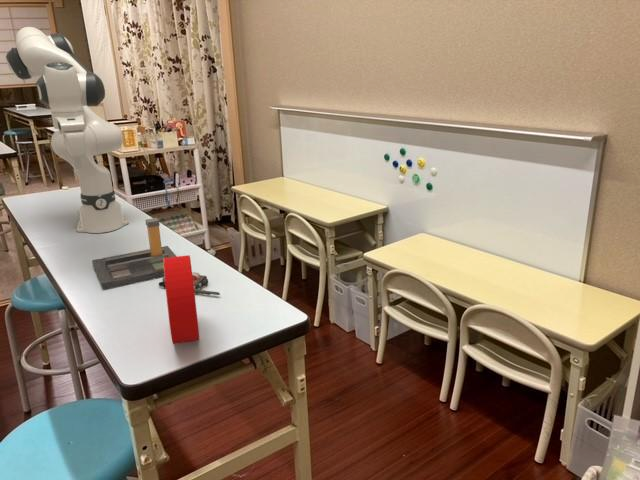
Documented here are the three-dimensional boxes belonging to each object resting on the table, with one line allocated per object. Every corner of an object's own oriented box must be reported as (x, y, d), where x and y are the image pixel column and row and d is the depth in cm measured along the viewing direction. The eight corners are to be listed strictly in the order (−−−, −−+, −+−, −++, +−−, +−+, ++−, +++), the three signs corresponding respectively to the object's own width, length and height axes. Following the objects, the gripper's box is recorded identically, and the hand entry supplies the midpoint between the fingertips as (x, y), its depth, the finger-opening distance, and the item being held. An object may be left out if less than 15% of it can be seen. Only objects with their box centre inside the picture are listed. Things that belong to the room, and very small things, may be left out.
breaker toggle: (150, 257, 161) (145, 219, 157) (161, 255, 163) (156, 217, 159) (153, 261, 159) (147, 222, 154) (163, 258, 160) (159, 220, 156)
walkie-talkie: (154, 291, 145) (218, 300, 140) (152, 277, 143) (216, 285, 138) (170, 279, 153) (231, 286, 148) (169, 265, 151) (230, 272, 146)
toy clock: (201, 356, 113) (192, 275, 106) (174, 361, 112) (163, 279, 105) (195, 314, 131) (188, 243, 124) (172, 318, 130) (163, 245, 123)
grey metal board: (92, 266, 161) (90, 254, 160) (168, 251, 173) (166, 240, 171) (103, 289, 145) (100, 277, 144) (185, 271, 156) (184, 260, 155)
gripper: (54, 118, 155) (63, 162, 160) (61, 126, 139) (70, 175, 143) (76, 116, 158) (84, 160, 163) (85, 124, 142) (94, 173, 146)
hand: (77, 167), depth 153 cm, fingers closed
